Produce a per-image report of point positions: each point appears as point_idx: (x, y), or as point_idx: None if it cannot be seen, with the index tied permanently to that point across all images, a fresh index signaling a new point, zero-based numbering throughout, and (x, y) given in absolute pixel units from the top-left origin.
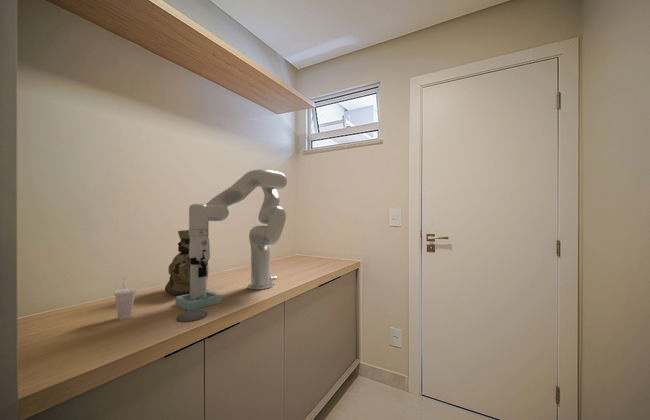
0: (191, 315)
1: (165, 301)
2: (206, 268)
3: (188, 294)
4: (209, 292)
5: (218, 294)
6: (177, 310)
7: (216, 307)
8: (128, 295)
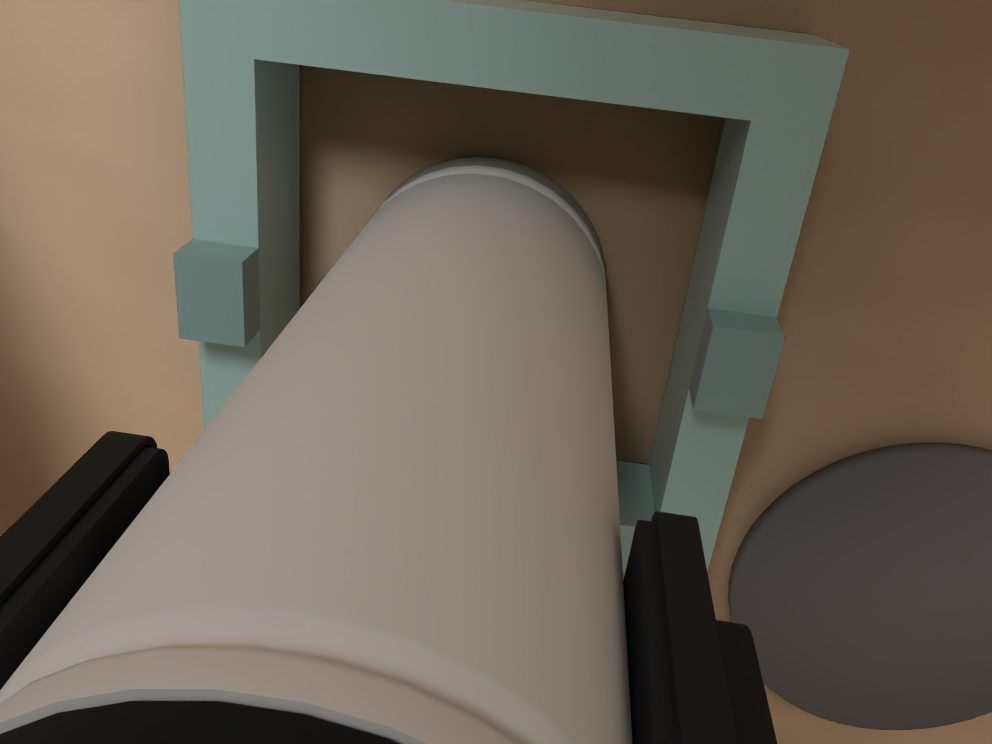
0: (926, 623)
1: (21, 458)
2: (732, 714)
3: (234, 356)
4: (432, 65)
5: (744, 45)
6: None
7: (948, 246)
8: None
